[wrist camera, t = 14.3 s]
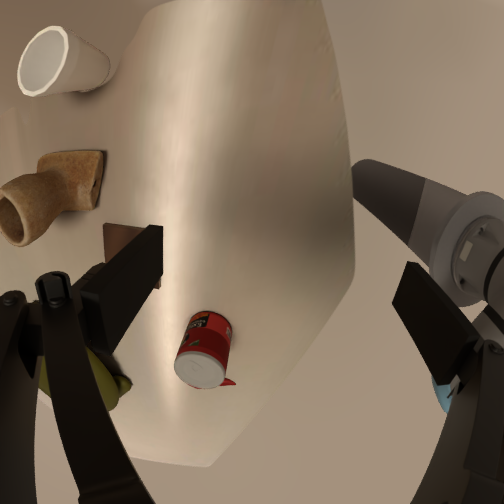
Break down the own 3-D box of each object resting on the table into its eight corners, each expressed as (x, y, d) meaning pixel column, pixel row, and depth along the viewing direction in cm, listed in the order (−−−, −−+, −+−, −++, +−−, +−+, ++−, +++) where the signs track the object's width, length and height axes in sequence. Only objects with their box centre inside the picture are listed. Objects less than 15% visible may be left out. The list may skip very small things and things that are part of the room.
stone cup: (44, 215, 43) (-11, 246, 29) (41, 151, 38) (-21, 167, 24) (108, 222, 43) (54, 262, 29) (108, 149, 38) (44, 163, 24)
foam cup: (63, 76, 33) (9, 71, 21) (99, 34, 30) (50, 14, 18) (89, 110, 35) (34, 110, 23) (129, 65, 33) (80, 49, 21)
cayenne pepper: (179, 381, 56) (177, 387, 55) (179, 368, 55) (177, 374, 53) (233, 393, 57) (232, 399, 55) (237, 380, 55) (236, 387, 53)
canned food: (204, 302, 47) (189, 345, 37) (241, 327, 49) (235, 373, 39) (181, 328, 50) (164, 371, 40) (216, 350, 52) (207, 395, 42)
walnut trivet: (160, 230, 43) (158, 232, 42) (160, 286, 47) (158, 289, 46) (105, 222, 43) (102, 224, 42) (109, 276, 47) (107, 279, 46)
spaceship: (95, 412, 67) (84, 436, 58) (17, 347, 59) (1, 367, 51) (148, 373, 56) (134, 406, 47) (41, 280, 48) (14, 304, 39)
